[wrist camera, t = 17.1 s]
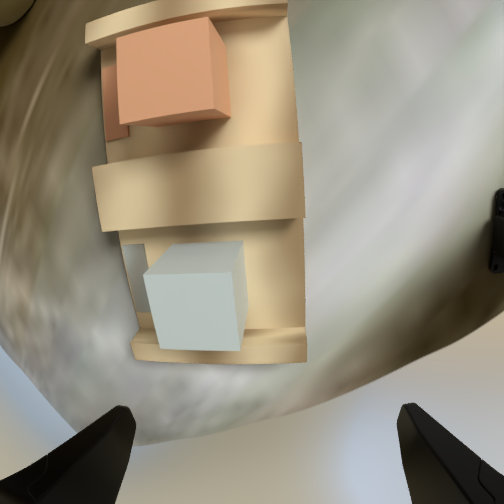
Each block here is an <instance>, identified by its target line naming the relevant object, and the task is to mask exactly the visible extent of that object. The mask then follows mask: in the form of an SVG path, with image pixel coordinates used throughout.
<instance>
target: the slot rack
mask: <svg viewBox="0 0 504 504" xmlns="http://www.w3.org/2000/svg"><path fill="white" fill-rule="evenodd" d="M287 5H288V2H287V0H158V1H154V2H150V3H146V4H143V5H139V6H136V7H133V8H129V9H126V10H123V11H120V12H117V13H114V14H111V15H108V16H105V17H103V18H100V19H97V20H95V21H92V22H89V23H87V24H86V34H85V44H87V45H89V46H92V47H94V48H97V49H99V50H101V83H102V104H103V118H104V131H105V142H106V151H107V160H108V164H105V165H100V166H95V167H92V171H93V179H94V186H95V193H96V199H97V205H98V211H99V217H100V223H101V228H102V232H106V231H117V230H118V233H119V239H120V244H121V249H122V254H123V259H124V264H125V268H126V273H127V277H128V282H129V286H130V290H131V294H132V298H133V302H134V306H135V310H136V314H137V318H138V322H139V325H140V329H139V331H138V332H137V333H136V335H135V336H134V338H133V339H132V341H131V342H130V344H131V347H132V351H133V354H134V357H135V360H145V361H159V362H177V363H203V364H275V363H301V362H307V338H306V330H305V262H304V229H303V218H305V196H304V176H303V158H302V143H301V142H299V135H298V121H297V109H296V97H295V86H294V75H293V65H292V56H291V46H290V38H289V29H288V21H287ZM203 17H209V19H210V21H211V22H212V24H213V26H214V27H215V29H216V31H217V32H218V34H219V36H220V37H221V39H222V41H223V42H224V44H225V46H226V55H227V68H228V82H229V95H230V107H231V117H229V118H220V119H211V120H203V121H195V122H187V123H181V124H174V125H167V126H161V127H150V126H137V125H120V120H119V106H118V87H117V50H116V38H118V37H122V36H125V35H128V34H132V33H135V32H139V31H143V30H147V29H151V28H155V27H159V26H163V25H167V24H172V23H177V22H181V21H187V20H192V19H197V18H203ZM240 240H243V245H244V257H245V268H246V280H247V291H248V302H249V307H248V313H247V318H246V323H245V329H244V334H243V339H242V345H241V350H240V351H205V350H175V349H160V345H159V342H158V338H157V334H156V330H155V326H154V322H153V318H152V313H151V309H150V305H149V300H148V296H147V291H146V287H145V282H144V277H143V274H144V273H145V272H146V271H147V270H148V269H149V268H150V267H151V266H152V265H153V264H154V263H155V262H156V261H157V260H158V259H159V258H160V257H161V256H162V255H163V253H164V252H165V251H166V250H167V249H168V248H169V247H170V246H171V245H172V244H181V243H200V242H219V241H240Z"/></svg>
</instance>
